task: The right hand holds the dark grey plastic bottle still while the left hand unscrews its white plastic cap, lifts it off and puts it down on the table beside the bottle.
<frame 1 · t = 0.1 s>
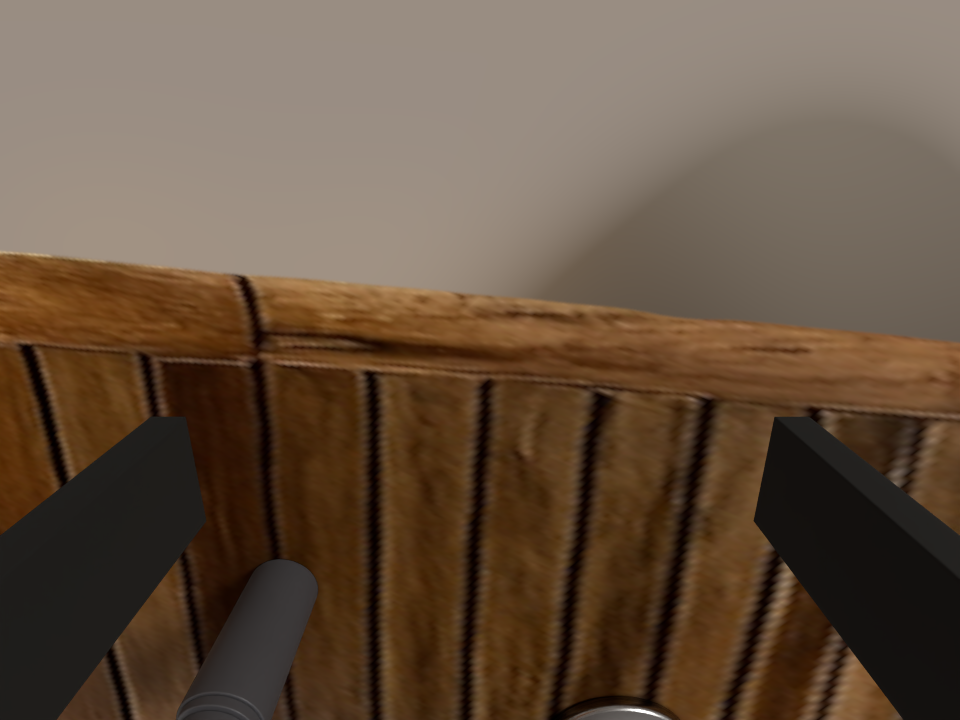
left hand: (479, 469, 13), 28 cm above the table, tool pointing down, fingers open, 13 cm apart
bottle: (284, 586, 49), on the table
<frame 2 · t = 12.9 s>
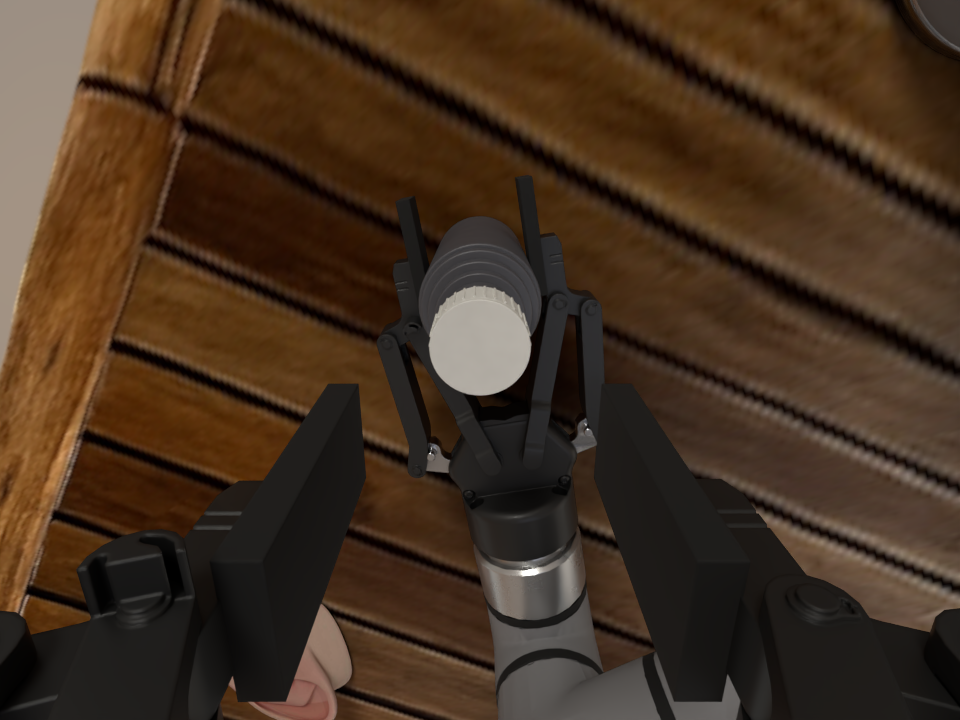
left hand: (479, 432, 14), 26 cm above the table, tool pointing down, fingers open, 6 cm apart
right hand: (463, 188, 31), fingers closed on bottle, 6 cm apart
anatomical model: (284, 638, 50), on the table
bottle: (480, 259, 39), on the table, touching right hand
cap: (480, 346, 21), point 19 cm above the table, screwed on, not yet turned
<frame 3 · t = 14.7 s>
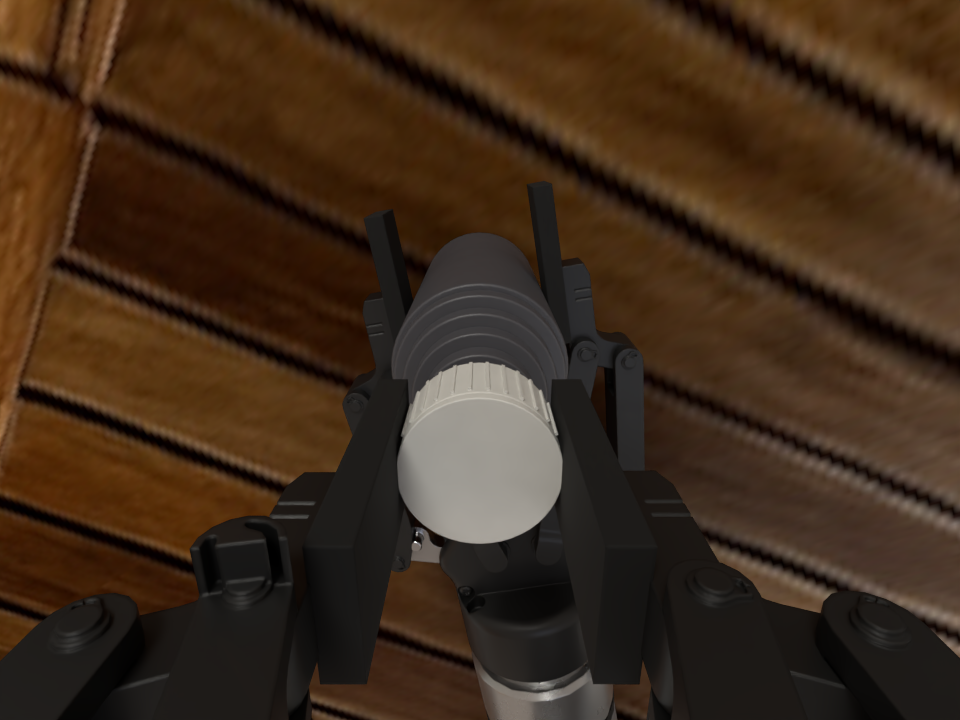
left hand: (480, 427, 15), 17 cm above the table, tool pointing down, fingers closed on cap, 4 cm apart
right hand: (458, 199, 23), fingers closed on bottle, 6 cm apart
bottle: (480, 287, 30), on the table, touching right hand
cap: (479, 467, 13), point 19 cm above the table, screwed on, not yet turned, touching left hand
when the left hand's fingers open (1 cm above the table, at t = 28.4 s): cap drops 1 cm, point 2 cm above the table.
when the right hand's fingers open (6 cm above the table, at t = 29.6 s): bottle stays where it is, on the table.
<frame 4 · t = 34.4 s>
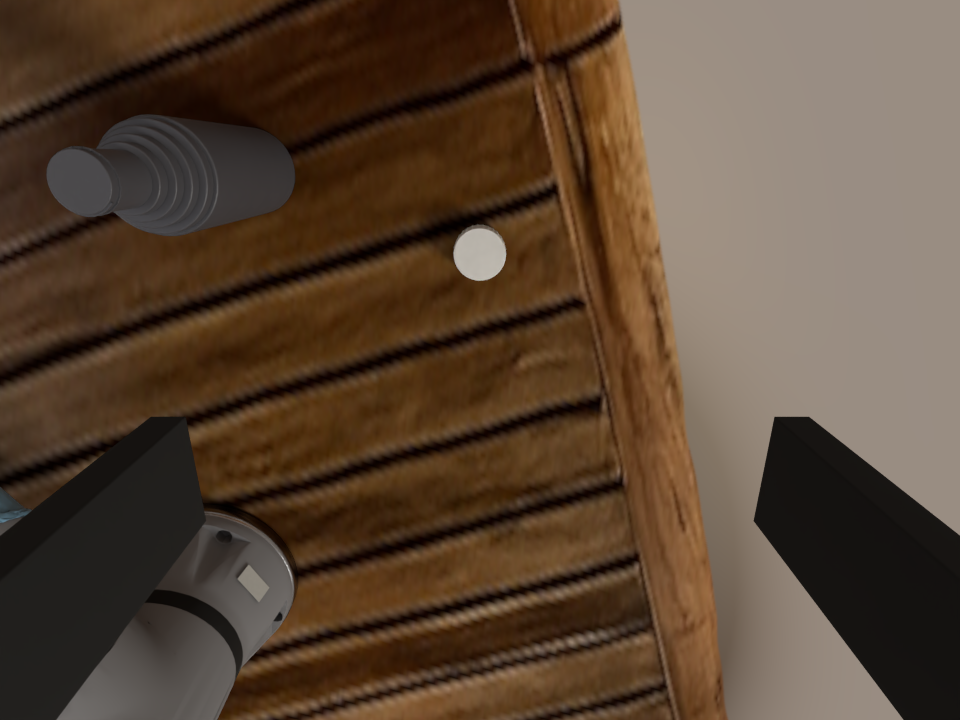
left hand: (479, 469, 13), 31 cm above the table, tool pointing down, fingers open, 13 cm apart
bottle: (254, 171, 40), on the table
cap: (479, 254, 40), point 2 cm above the table, off its thread
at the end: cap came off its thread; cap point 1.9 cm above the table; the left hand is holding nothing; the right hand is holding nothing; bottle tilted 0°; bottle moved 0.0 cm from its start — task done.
